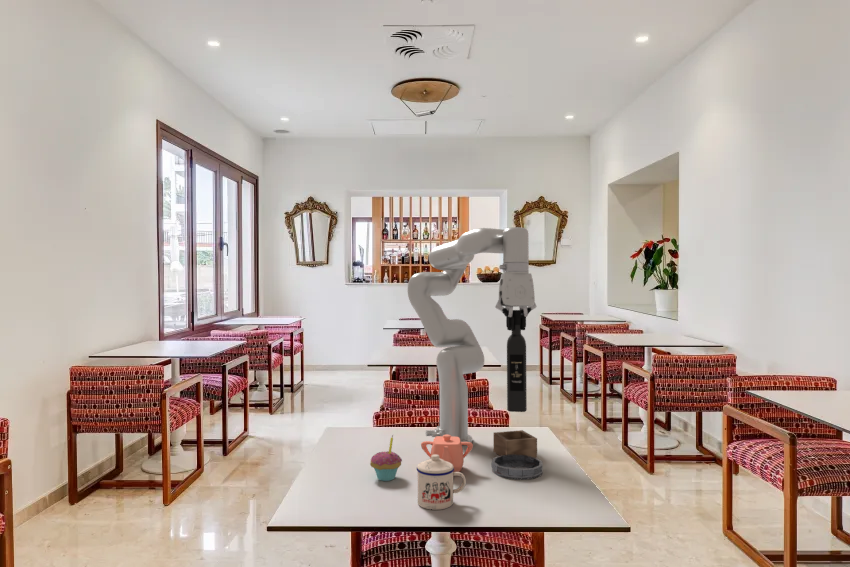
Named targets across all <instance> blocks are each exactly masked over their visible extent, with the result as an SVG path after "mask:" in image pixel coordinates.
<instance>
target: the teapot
mask: <svg viewBox="0 0 850 567" xmlns="http://www.w3.org/2000/svg"><path fill="white" fill-rule="evenodd" d="M428 445H431V450H430V451H429V449H428V447H427V446H428ZM420 446H421V449H422V450H423V452H424V453H425V454H426V455H427V457H429V459H431V456H432V455H434V454H436V455H439V458H440V459H443V460H444V461H447V462H450V463H451V464H452V465H453V467H454V471H453V472H461V471H462V469H463V466H464V462H465V461H464V459H465V457H467V456H468V454H470V452H471V451H472V450H473V447H474V444H473V443H472V442H461V441H460V438H459V437H453V436H451V435H448V434H446V435H443V436H436V437H433V441H431V440H429V441H428V440H425V441H422V442H421V444H420ZM463 446H467V448H466V449H465V452H464V450H463Z"/></svg>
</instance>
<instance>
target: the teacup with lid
mask: <svg viewBox="0 0 850 567" xmlns="http://www.w3.org/2000/svg"><path fill="white" fill-rule="evenodd" d="M416 471H417V504H418V505H419V507H421V508H423V509H426V510H431V509H432V510H431V511H433V510H435V511H436V510H437V511H438V510H444V509H448V508H450V507H451V506H452V505H453V504H454V494H458V493H460V492H462V491H463V490H464V488H465V486H466V483H467V482H466V481H467V480H466V477H465V474H464V473H462V472H461V471H459V472H453V471H454V467H453V465H452V464H451V463H450V462H447V461H444V460H443V459H440V458H439V455H436V454H434V455H432V456H431V459H430V458H428V459H426V460H423V461H421V462H420V463H418V464H417V466H416ZM455 476H456V477H457V476H459V477H461V478H462V482H461V484H460V486H459V487H457V488H454V477H455Z"/></svg>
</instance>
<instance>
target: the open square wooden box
mask: <svg viewBox="0 0 850 567" xmlns="http://www.w3.org/2000/svg"><path fill="white" fill-rule="evenodd" d="M493 452H494V454H496V455H498V456H500V455H508V454H518V455H527V456H531V457H536V458H538V437H536V436H533V435H532V434H530V433H528V432H526V431H524V430H523V429H521V430H507V431H496V432H493Z"/></svg>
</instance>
